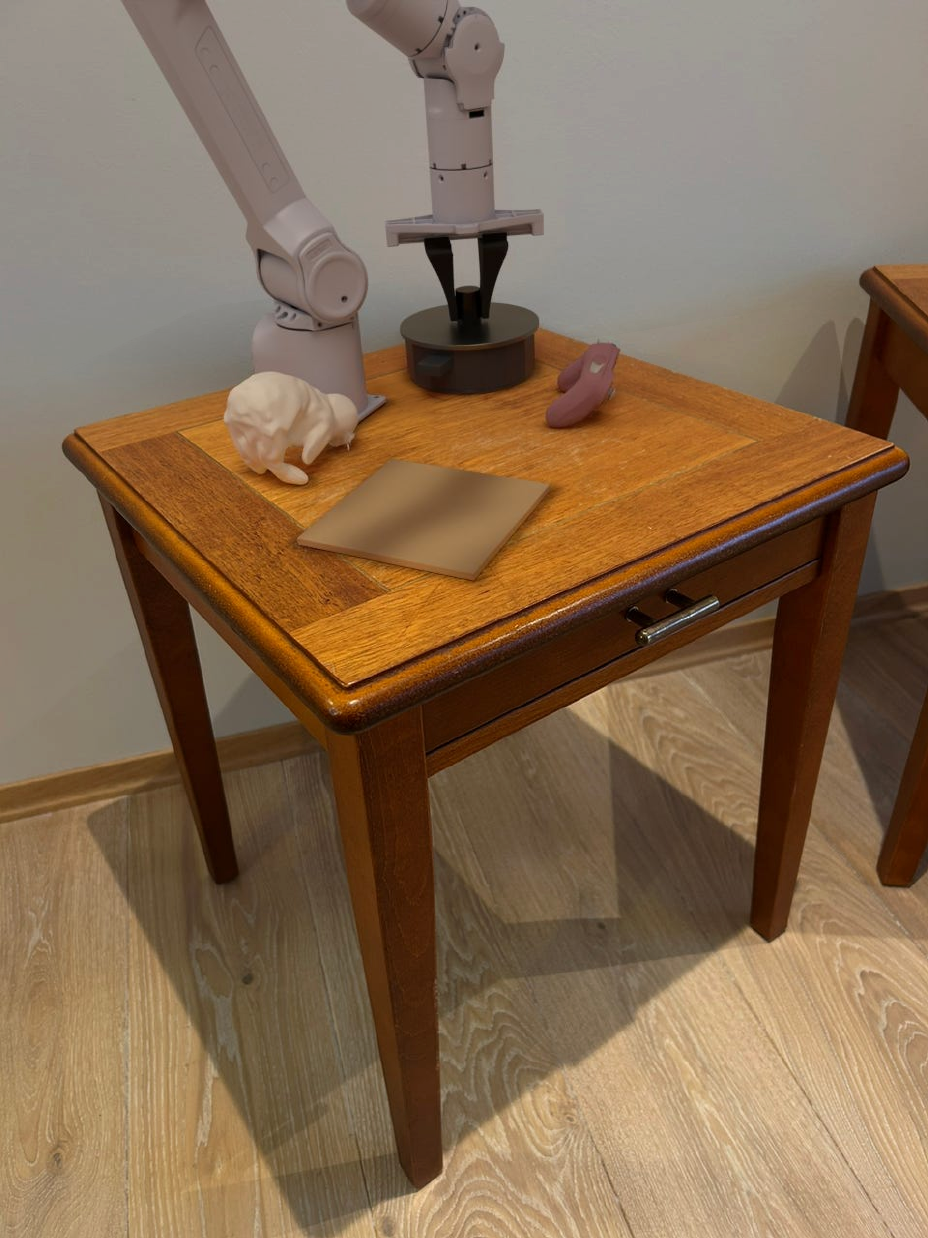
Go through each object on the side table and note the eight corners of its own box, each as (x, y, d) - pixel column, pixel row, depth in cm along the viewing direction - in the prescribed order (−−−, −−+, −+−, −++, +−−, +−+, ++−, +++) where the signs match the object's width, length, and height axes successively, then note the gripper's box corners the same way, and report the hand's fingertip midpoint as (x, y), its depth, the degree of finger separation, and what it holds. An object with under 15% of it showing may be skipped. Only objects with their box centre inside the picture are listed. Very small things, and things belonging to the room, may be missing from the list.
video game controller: (586, 448, 84) (626, 379, 80) (539, 424, 84) (577, 354, 80) (596, 404, 92) (633, 340, 88) (554, 382, 92) (588, 317, 88)
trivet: (297, 544, 70) (296, 537, 69) (391, 465, 80) (391, 458, 79) (474, 581, 64) (473, 573, 64) (550, 490, 74) (550, 483, 74)
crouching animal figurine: (209, 375, 74) (320, 344, 82) (222, 480, 78) (327, 440, 87) (266, 390, 71) (376, 356, 79) (277, 499, 75) (380, 456, 83)
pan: (372, 395, 93) (367, 350, 90) (454, 337, 106) (452, 296, 104) (492, 411, 88) (490, 364, 86) (562, 348, 101) (562, 305, 99)
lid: (375, 349, 93) (370, 303, 90) (439, 307, 103) (436, 266, 100) (506, 363, 87) (504, 315, 85) (559, 318, 97) (559, 274, 95)
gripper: (380, 178, 83) (395, 335, 90) (548, 166, 83) (549, 323, 91) (379, 164, 89) (393, 313, 96) (536, 153, 89) (538, 302, 97)
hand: (468, 317), depth 94 cm, fingers closed on lid, 2 cm apart
